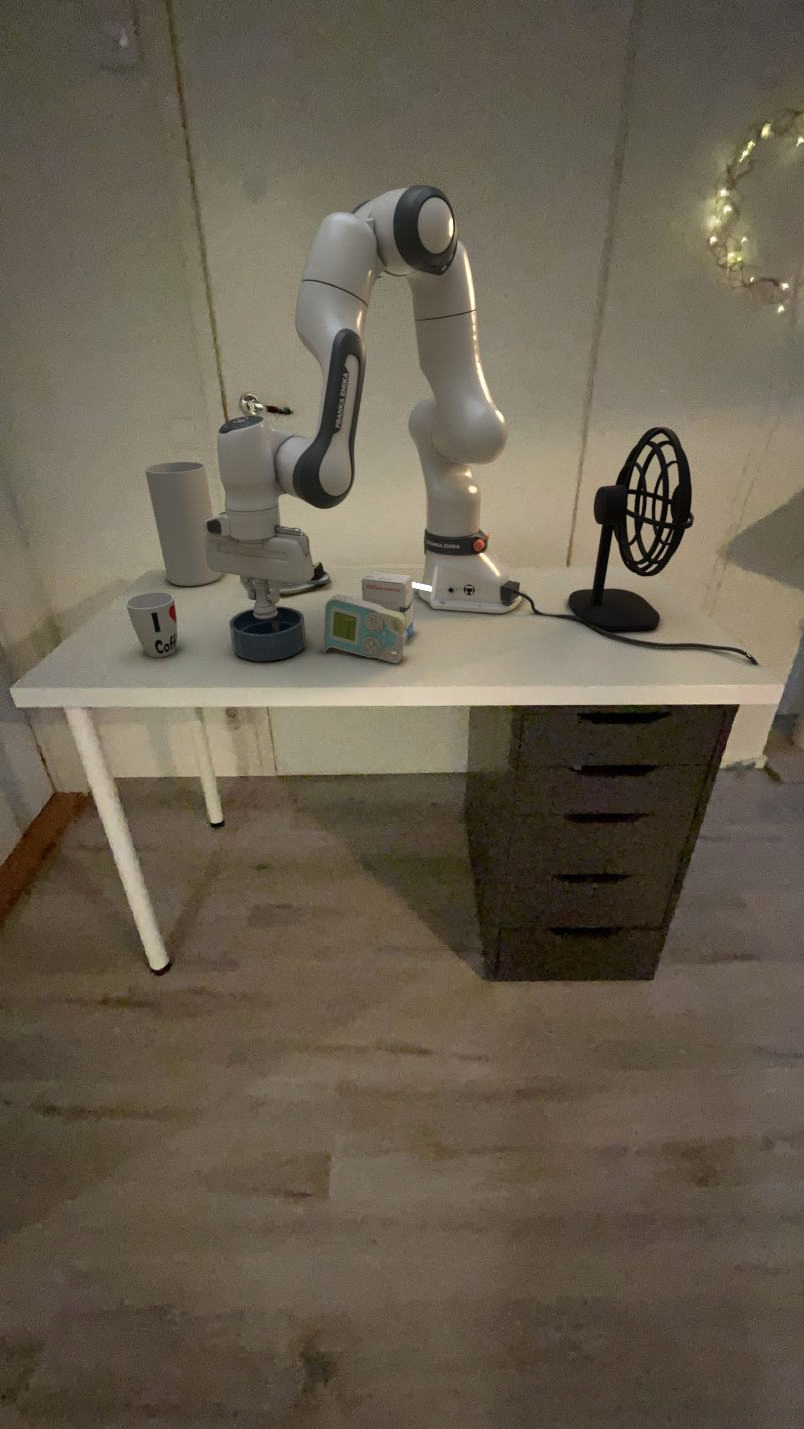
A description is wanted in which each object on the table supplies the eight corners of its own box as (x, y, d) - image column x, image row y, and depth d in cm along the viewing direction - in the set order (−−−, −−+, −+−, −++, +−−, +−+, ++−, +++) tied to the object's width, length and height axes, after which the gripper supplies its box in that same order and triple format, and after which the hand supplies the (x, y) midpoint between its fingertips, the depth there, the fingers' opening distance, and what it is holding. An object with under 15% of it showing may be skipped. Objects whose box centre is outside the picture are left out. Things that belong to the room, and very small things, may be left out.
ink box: (414, 633, 126) (413, 574, 120) (405, 643, 122) (405, 583, 116) (373, 627, 129) (370, 570, 123) (363, 637, 125) (360, 578, 119)
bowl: (319, 639, 125) (317, 612, 122) (281, 669, 114) (277, 640, 111) (260, 628, 129) (257, 602, 126) (218, 656, 119) (214, 628, 116)
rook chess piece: (273, 621, 116) (267, 578, 112) (249, 619, 117) (243, 576, 113) (281, 611, 120) (277, 569, 116) (259, 610, 121) (253, 568, 116)
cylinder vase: (222, 584, 151) (203, 471, 138) (165, 589, 148) (141, 474, 135) (222, 567, 161) (205, 460, 148) (170, 571, 159) (148, 463, 146)
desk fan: (687, 639, 122) (734, 439, 104) (595, 642, 122) (627, 442, 103) (634, 588, 146) (666, 417, 127) (557, 590, 145) (577, 419, 126)
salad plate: (265, 606, 139) (263, 585, 136) (230, 583, 151) (227, 564, 149) (342, 586, 149) (341, 566, 146) (303, 566, 161) (301, 547, 159)
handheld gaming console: (397, 675, 116) (321, 652, 119) (403, 668, 118) (328, 646, 122) (405, 618, 110) (325, 596, 113) (411, 612, 112) (332, 591, 115)
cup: (158, 664, 116) (146, 612, 111) (128, 654, 120) (115, 603, 115) (193, 647, 122) (183, 597, 117) (163, 638, 126) (152, 589, 121)
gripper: (317, 524, 109) (323, 602, 116) (216, 512, 116) (228, 587, 123) (297, 534, 104) (305, 615, 111) (193, 521, 111) (207, 598, 118)
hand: (264, 600), depth 117 cm, fingers closed on rook chess piece, 3 cm apart
